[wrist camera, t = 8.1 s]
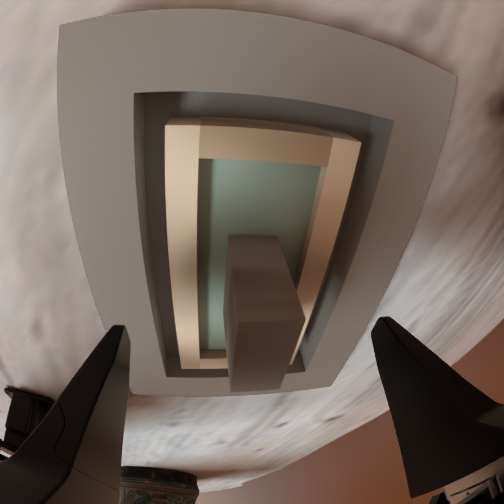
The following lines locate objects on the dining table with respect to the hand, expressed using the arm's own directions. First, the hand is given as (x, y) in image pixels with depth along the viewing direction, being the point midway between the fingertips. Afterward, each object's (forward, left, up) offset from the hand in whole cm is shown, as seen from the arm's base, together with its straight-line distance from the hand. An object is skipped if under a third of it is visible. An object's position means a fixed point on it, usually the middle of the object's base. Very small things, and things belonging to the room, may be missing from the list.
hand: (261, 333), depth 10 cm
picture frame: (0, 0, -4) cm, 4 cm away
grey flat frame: (0, 0, -4) cm, 4 cm away
